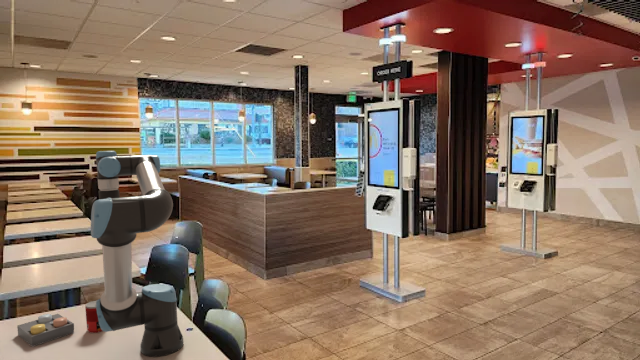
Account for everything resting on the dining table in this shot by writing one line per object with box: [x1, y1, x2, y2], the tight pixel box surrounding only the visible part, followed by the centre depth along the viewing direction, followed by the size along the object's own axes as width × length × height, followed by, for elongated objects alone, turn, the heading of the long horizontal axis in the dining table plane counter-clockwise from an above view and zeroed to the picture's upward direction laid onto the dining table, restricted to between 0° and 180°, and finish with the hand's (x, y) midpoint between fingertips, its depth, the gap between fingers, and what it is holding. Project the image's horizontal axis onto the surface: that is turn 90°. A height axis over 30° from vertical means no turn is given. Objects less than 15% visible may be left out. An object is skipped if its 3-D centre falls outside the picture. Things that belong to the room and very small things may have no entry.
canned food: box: [85, 300, 103, 334], centre depth 182 cm, size 8×8×11 cm
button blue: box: [37, 313, 52, 324], centre depth 183 cm, size 5×5×4 cm
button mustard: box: [31, 324, 46, 335], centre depth 173 cm, size 5×5×4 cm
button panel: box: [16, 313, 75, 347], centre depth 179 cm, size 16×15×4 cm
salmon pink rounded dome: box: [53, 316, 68, 328], centre depth 179 cm, size 5×5×4 cm
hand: (112, 246), depth 180 cm, fingers closed
